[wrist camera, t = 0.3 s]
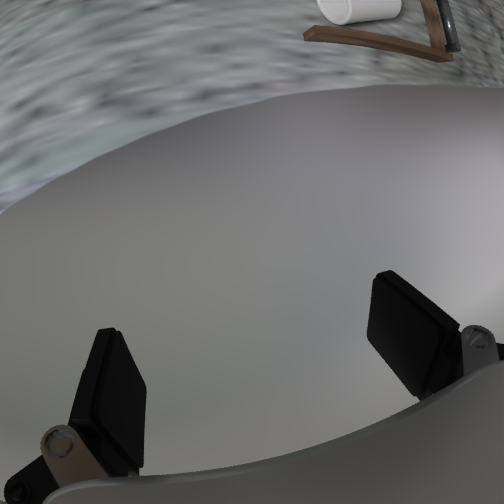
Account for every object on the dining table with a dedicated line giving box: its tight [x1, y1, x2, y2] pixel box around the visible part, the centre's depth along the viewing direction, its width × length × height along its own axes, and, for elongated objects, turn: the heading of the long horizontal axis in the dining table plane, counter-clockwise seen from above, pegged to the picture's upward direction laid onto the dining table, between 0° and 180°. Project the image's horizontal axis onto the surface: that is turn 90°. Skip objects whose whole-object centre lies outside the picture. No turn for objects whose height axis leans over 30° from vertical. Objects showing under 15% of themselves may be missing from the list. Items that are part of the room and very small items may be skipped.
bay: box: [303, 0, 461, 63], centre depth 29 cm, size 18×30×4 cm, turn 97°
